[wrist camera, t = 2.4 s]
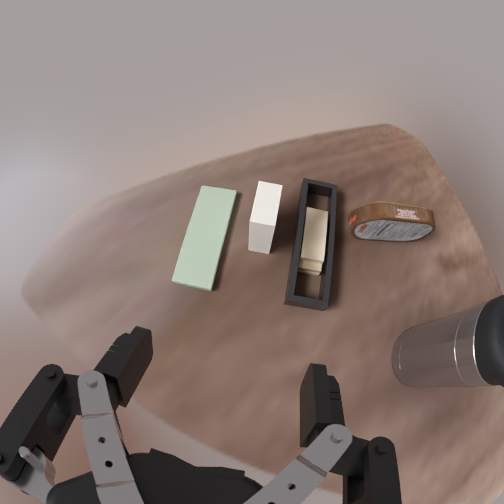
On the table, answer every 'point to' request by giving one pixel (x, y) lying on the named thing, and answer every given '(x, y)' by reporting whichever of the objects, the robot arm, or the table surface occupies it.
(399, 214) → the tin
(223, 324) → the table surface
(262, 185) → the white rectangular block
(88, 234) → the table surface
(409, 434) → the table surface
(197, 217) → the board
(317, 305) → the frame
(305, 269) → the offcut stack
